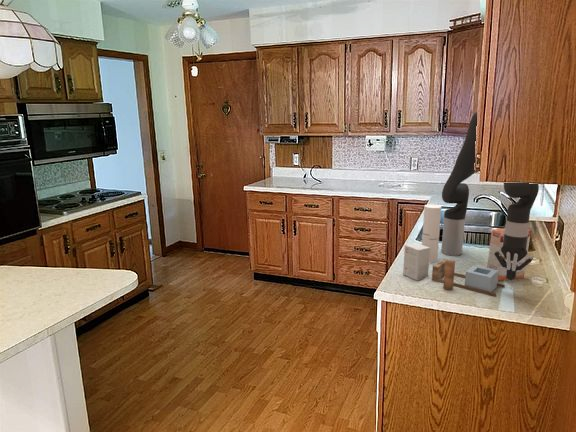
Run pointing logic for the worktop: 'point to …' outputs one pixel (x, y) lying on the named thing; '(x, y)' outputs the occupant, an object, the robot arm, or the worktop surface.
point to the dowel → (449, 274)
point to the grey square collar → (481, 278)
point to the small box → (416, 261)
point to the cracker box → (493, 262)
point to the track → (440, 270)
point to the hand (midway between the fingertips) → (510, 279)
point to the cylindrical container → (431, 230)
